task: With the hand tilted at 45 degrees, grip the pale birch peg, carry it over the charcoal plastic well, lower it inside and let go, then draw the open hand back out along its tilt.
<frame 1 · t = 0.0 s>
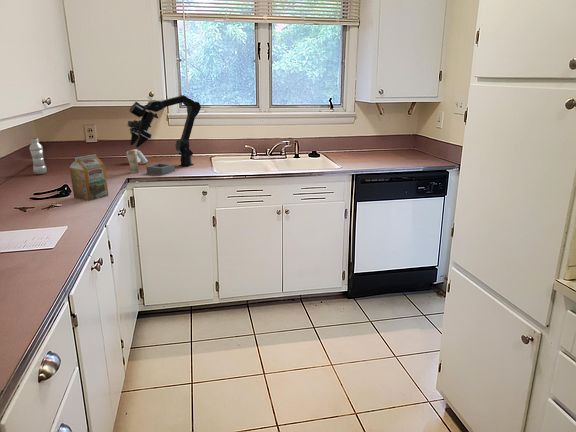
hand: (133, 146, 254), 15 cm above the counter, tool tilted 35°, fingers open, 9 cm apart
well: (161, 172, 257), on the counter
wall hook: (139, 164, 281), on the counter
milk carton: (91, 197, 207), on the counter
birch peg: (134, 172, 257), on the counter
plastic bottle: (40, 174, 253), on the counter
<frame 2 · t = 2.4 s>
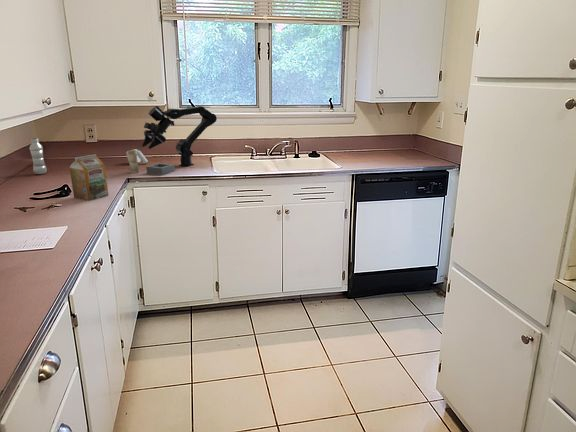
hand: (145, 147, 258), 14 cm above the counter, tool tilted 45°, fingers open, 9 cm apart
nothing on the counter moved.
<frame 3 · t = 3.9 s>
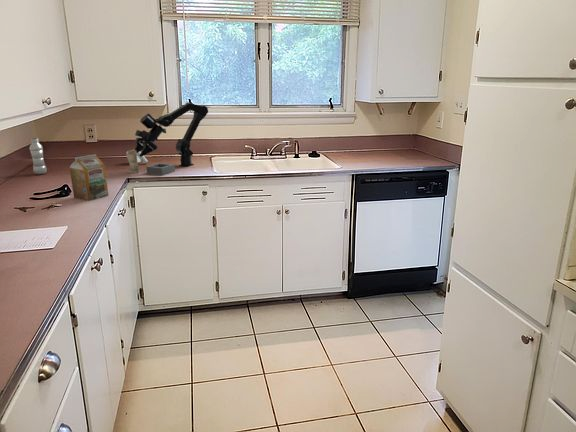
hand: (136, 155, 256), 10 cm above the counter, tool tilted 45°, fingers open, 9 cm apart
nothing on the counter moved.
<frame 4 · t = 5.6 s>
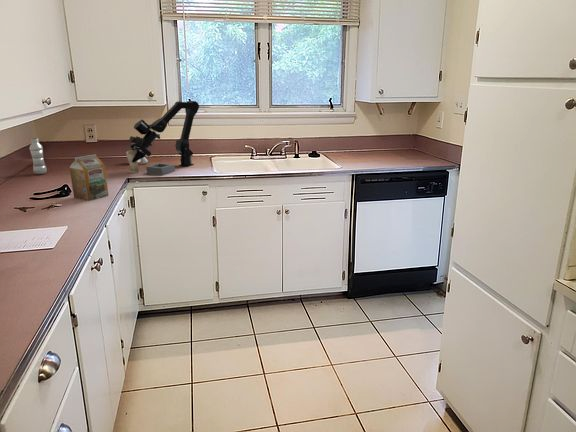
hand: (130, 161, 254), 7 cm above the counter, tool tilted 45°, fingers closed on birch peg, 4 cm apart
birch peg: (134, 172, 257), on the counter, touching gripper
everything else where it was.
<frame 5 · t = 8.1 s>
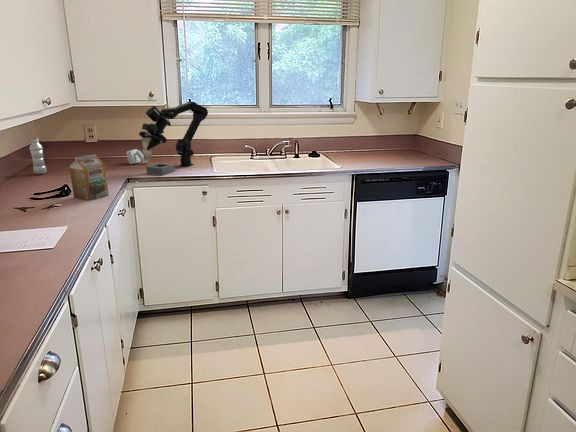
hand: (144, 149, 251), 14 cm above the counter, tool tilted 45°, fingers closed on birch peg, 4 cm apart
birch peg: (148, 160, 254), point 7 cm above the counter, touching gripper
everything else where it was.
when the fingers open (7 cm above the counter, at t = 10.7 s): birch peg stays where it is, resting in well.
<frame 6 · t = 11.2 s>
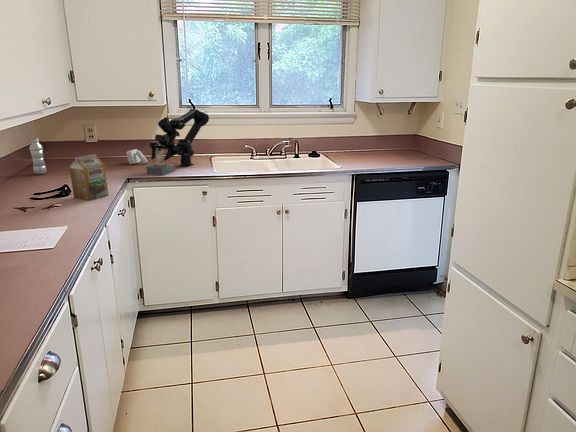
hand: (158, 159, 254), 8 cm above the counter, tool tilted 45°, fingers open, 9 cm apart
birch peg: (161, 172, 257), resting in well
everything else where it was.
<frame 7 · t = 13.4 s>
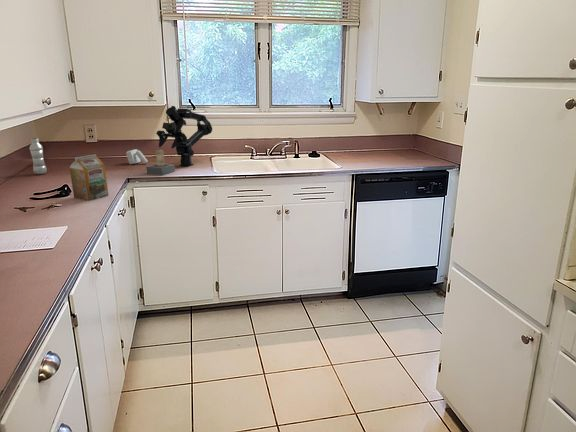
hand: (165, 147, 258), 13 cm above the counter, tool tilted 45°, fingers open, 9 cm apart
nothing on the counter moved.
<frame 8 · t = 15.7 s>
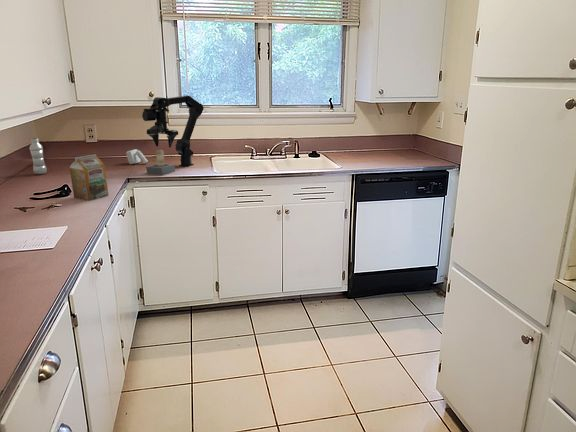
hand: (163, 147, 262), 13 cm above the counter, tool pointing down, fingers open, 9 cm apart
nothing on the counter moved.
at the end: birch peg 0.1 cm off-centre on the well, point 0.0 cm above the well's base; birch peg tilted 0°; the gripper is holding nothing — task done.
